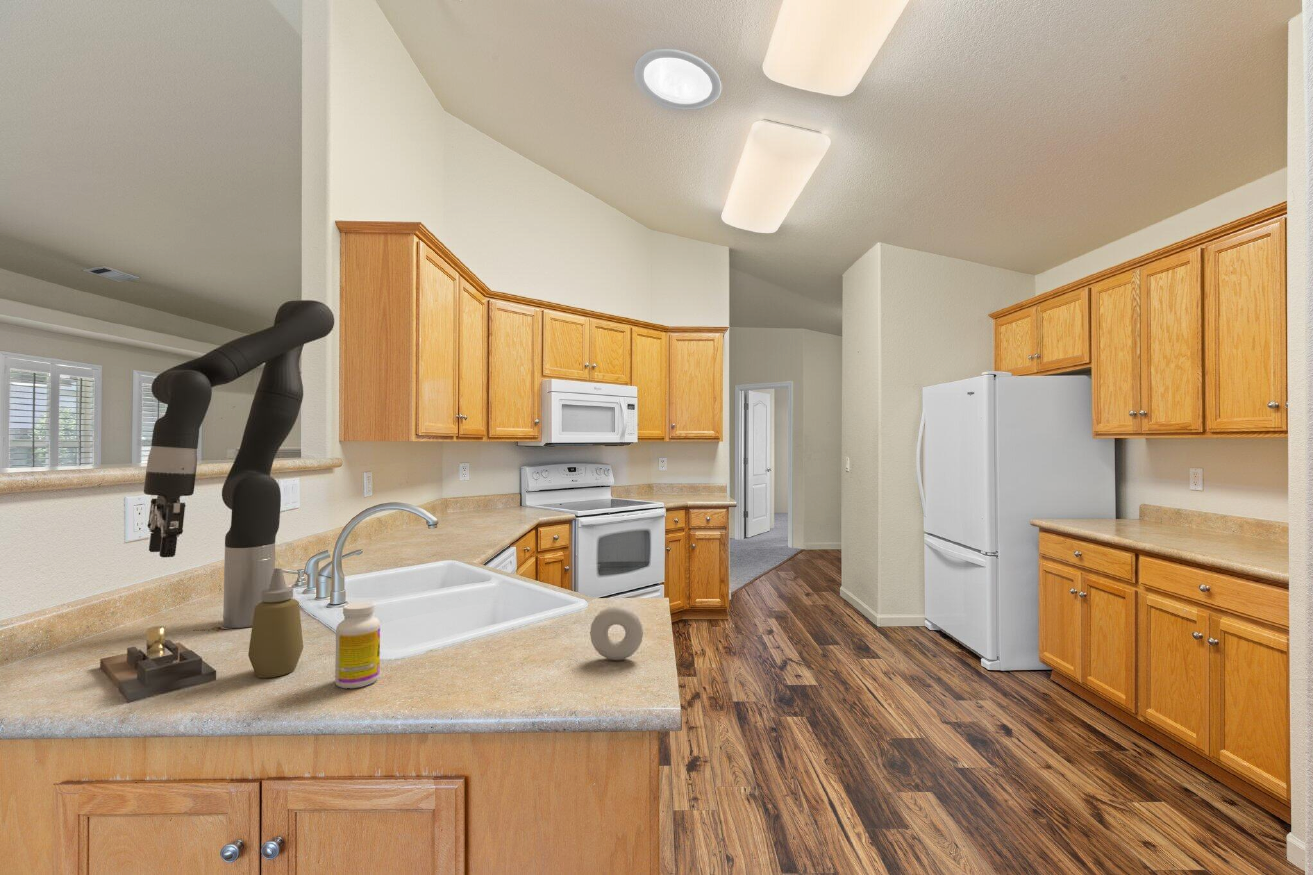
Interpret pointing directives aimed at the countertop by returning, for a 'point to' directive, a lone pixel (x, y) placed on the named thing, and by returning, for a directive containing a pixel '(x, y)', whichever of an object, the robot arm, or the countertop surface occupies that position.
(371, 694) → the countertop surface
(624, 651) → the donut
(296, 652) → the squeeze bottle
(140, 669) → the door board
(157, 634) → the lock bolt
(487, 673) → the countertop surface
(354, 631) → the supplement bottle
